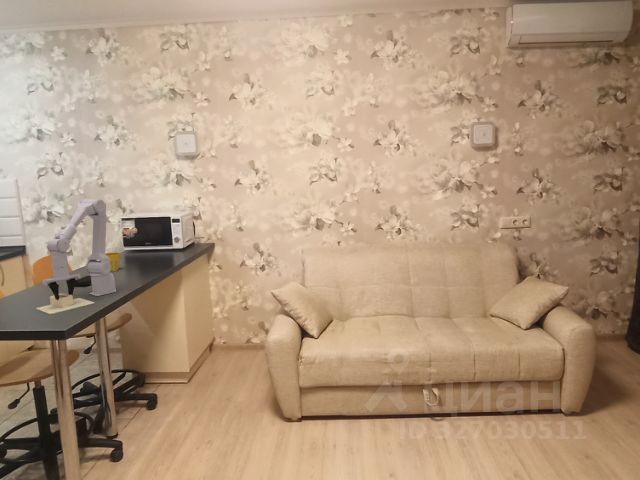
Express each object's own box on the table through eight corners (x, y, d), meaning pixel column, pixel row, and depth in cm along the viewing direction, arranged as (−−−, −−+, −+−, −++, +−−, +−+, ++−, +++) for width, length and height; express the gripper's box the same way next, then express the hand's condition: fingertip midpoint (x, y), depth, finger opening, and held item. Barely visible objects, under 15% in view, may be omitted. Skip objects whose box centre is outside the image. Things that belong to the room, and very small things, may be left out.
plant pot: (125, 268, 272) (123, 251, 271) (116, 272, 262) (114, 255, 260) (108, 268, 273) (107, 252, 272) (98, 272, 263) (96, 255, 261)
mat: (79, 298, 210) (79, 297, 210) (94, 303, 201) (94, 302, 201) (36, 309, 196) (35, 308, 196) (50, 314, 187) (50, 313, 187)
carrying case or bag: (84, 280, 246) (66, 287, 232) (84, 275, 246) (66, 282, 232) (103, 280, 245) (86, 287, 231) (103, 274, 245) (86, 281, 230)
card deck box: (74, 303, 199) (72, 294, 198) (63, 307, 195) (61, 298, 194) (61, 301, 203) (60, 293, 202) (51, 305, 198) (49, 296, 198)
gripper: (74, 262, 204) (77, 293, 206) (37, 268, 193) (41, 300, 194) (81, 264, 199) (84, 295, 201) (44, 270, 188) (48, 303, 190)
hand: (64, 298), depth 198 cm, fingers closed on card deck box, 5 cm apart
